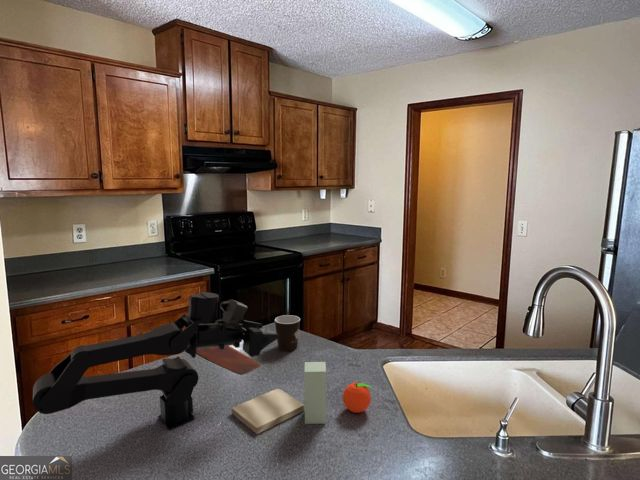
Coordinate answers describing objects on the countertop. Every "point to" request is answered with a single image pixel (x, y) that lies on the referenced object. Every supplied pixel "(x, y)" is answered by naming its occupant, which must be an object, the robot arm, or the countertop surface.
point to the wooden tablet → (229, 359)
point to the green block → (315, 392)
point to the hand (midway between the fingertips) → (269, 330)
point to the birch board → (267, 410)
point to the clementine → (357, 397)
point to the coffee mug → (287, 332)
